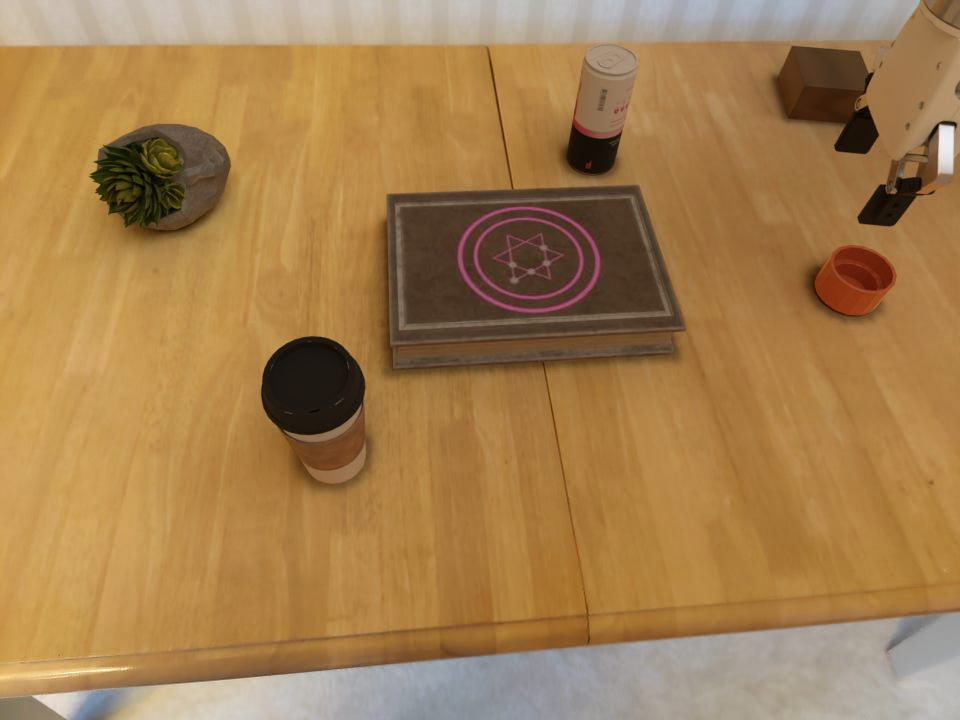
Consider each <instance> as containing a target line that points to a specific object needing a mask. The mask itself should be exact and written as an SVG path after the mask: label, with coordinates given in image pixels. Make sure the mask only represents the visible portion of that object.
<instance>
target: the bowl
mask: <svg viewBox="0 0 960 720" xmlns="http://www.w3.org/2000/svg"><path fill="white" fill-rule="evenodd" d="M895 269H896V268H895V266H894V265H893V264H892V263H891V262H890V260H888V258H887V257H886V256H884V255H883V254H881V253H879V251H877V250H875V249H872V248H869V247H866V246H863V245H859V244H858V245H856V244H847V245H843V246H839V247H837V248H836V249H835V250H834V251H833V252H832V253H830V256H829V257H828V258H827V260H826V262H824V264H823V266H822V267H821V269H820V270H819V272H818V273H817V274H816V276H815V280H814V288H815V292H816V294H817V296H818V297H819V298H820V300H821V301H822V302H823V303H824V304H825V305H827V306H828V307H830V308H831V309H832V310H834V311H836V312H839V313H842V314H844V315H847V316H848V315H849V316H863V315H867V314H870V313H872V311H874V310H875V309H876V308H877V307H878V306H879V305H880V304H881V302H882V301H883V300H884V299H885V297H886V296H887V295H888V294H889V293H890V292H891V290H892V289H893V288H894V287H895V286H896V282H897V277H898V275H897V272H896V270H895Z"/></svg>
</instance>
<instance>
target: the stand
mask: <svg viewBox="0 0 960 720" xmlns="http://www.w3.org/2000/svg"><path fill="white" fill-rule="evenodd" d="M869 73H870V72H869V69H868V68H867V65H866V62H865V60H864V57H863V54H862V52H861V50H852V49H849V50H848V49H839V48H838V49H837V48H825V47H813V46H801V45H791V46H790V49H789V52H788V54H787V56H786V58H785V60H784V63H783V66H782V67H781V70H780V71H779V74H778V76H777V82H778V86H779V90H780V94H781V97H782V101H783V104H784V109H785V111H786V115H787V119H789V120H800V121H810V122H822V123H823V122H824V123H835V124H845V125H846V124H847V122H848V120H849V118H850V117H851V115H852V113H853V112H858V111H856V110H855V103H856V101H857V99H858V98H859V97H860V96H862V95H863V93H864V87H865V79H866V78H867V76H868V74H869Z"/></svg>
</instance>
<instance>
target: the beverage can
mask: <svg viewBox="0 0 960 720" xmlns="http://www.w3.org/2000/svg"><path fill="white" fill-rule="evenodd" d="M638 72H639V57H638V55H637V53H635V52H634V51H633V50H632V49H630V48H629V47H627V46H626V45H625V46H624V45H621V44H619V43H613V42H604V43H597V44H595V45H593V46H590V47H589V48H588V49H587V50H586V52H585V55H584V57H583V59H582V64H581V69H580V75H579V82H578V87H577V93H576V97H575V105H574V110H573V115H572V121H571V126H570V133H569V138H568V144H567V150H566V161H567V163H568V164H569V166H570V167H572V168H573V169H574V170H575V171H577V172H579V173H582V174H585V175H593V176H595V175H602V174H604V173H607V172H608V171H610V170H611V169H612V168H614V165H615V162H616V159H617V154H618V151H619V146H620V142H621V138H622V134H623V130H624V127H625V123H626V119H627V115H628V111H629V107H630V103H631V98H632V96H633V91H634V88H635V87H634V86H635V82H636V79H637V76H638Z"/></svg>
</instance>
